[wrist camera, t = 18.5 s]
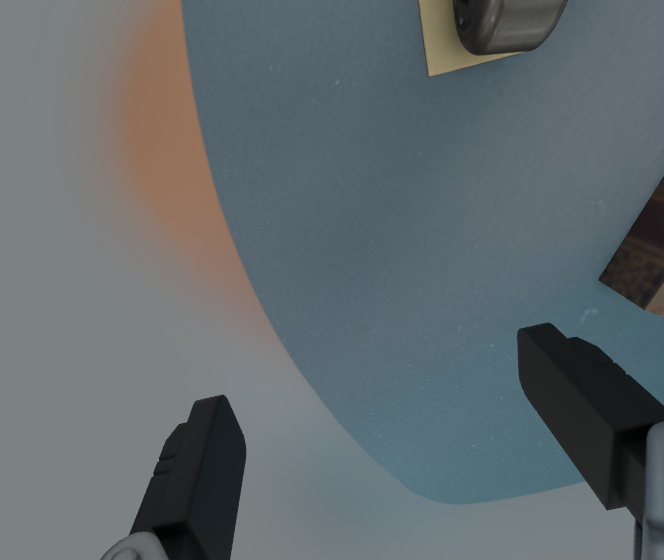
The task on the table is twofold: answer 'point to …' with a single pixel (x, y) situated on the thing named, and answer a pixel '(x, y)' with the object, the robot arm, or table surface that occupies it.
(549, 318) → the table surface
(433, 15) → the mat
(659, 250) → the book
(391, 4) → the table surface
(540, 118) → the table surface
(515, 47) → the alarm clock
